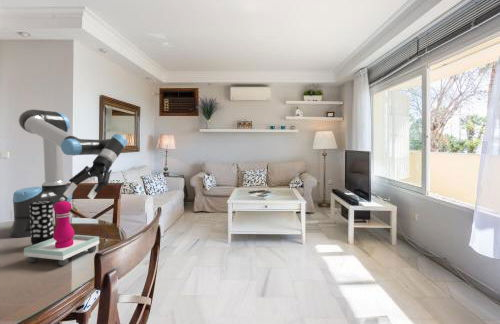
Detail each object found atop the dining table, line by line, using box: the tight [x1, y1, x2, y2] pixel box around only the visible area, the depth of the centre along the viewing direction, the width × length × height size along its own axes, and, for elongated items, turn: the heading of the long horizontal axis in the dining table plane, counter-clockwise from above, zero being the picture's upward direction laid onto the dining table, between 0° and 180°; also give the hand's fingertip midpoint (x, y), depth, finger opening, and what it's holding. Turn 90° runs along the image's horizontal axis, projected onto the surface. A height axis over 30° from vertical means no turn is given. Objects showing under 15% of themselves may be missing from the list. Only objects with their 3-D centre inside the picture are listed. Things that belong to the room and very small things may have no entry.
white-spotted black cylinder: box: [30, 201, 55, 246], centre depth 124 cm, size 8×8×20 cm
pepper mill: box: [53, 197, 75, 248], centre depth 112 cm, size 7×7×20 cm
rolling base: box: [23, 234, 100, 267], centre depth 112 cm, size 18×18×6 cm
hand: (77, 197), depth 117 cm, fingers open, 13 cm apart
